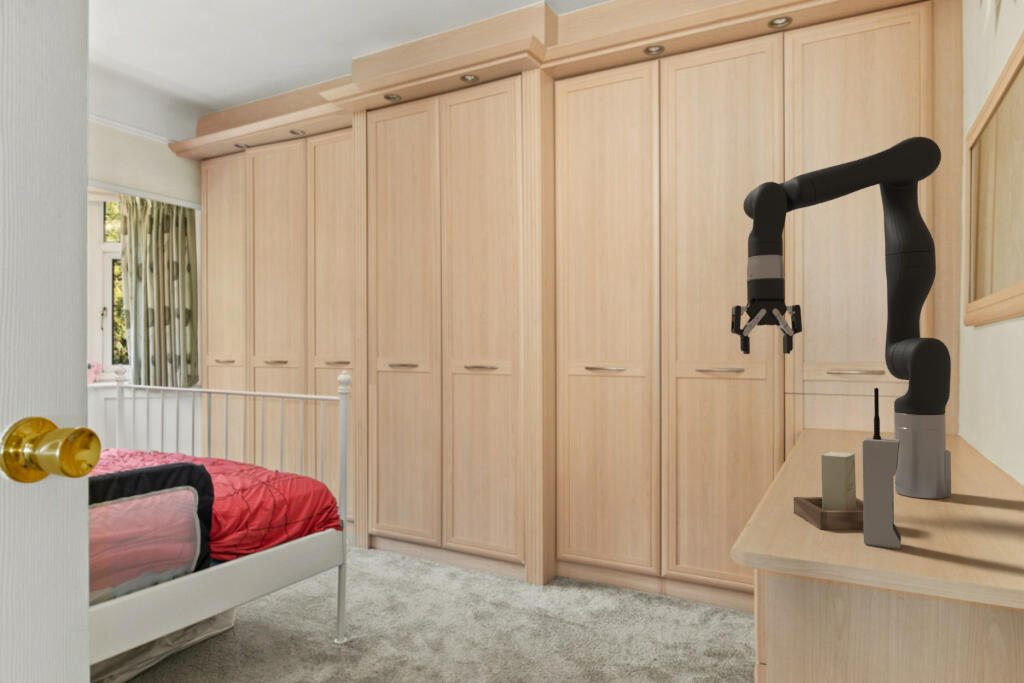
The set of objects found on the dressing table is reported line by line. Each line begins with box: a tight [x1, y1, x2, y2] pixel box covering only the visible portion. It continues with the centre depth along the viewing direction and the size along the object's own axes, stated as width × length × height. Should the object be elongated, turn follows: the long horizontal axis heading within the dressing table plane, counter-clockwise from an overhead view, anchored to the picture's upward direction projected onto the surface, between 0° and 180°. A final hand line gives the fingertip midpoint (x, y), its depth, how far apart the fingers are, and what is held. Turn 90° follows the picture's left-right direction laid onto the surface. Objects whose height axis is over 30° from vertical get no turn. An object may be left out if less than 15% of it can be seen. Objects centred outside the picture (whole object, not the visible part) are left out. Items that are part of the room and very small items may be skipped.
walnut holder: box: [793, 496, 864, 531], centre depth 118 cm, size 11×11×3 cm
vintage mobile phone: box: [862, 387, 902, 550], centre depth 104 cm, size 4×5×25 cm
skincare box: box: [820, 450, 857, 510], centre depth 118 cm, size 6×4×12 cm
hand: (766, 353), depth 139 cm, fingers open, 8 cm apart
